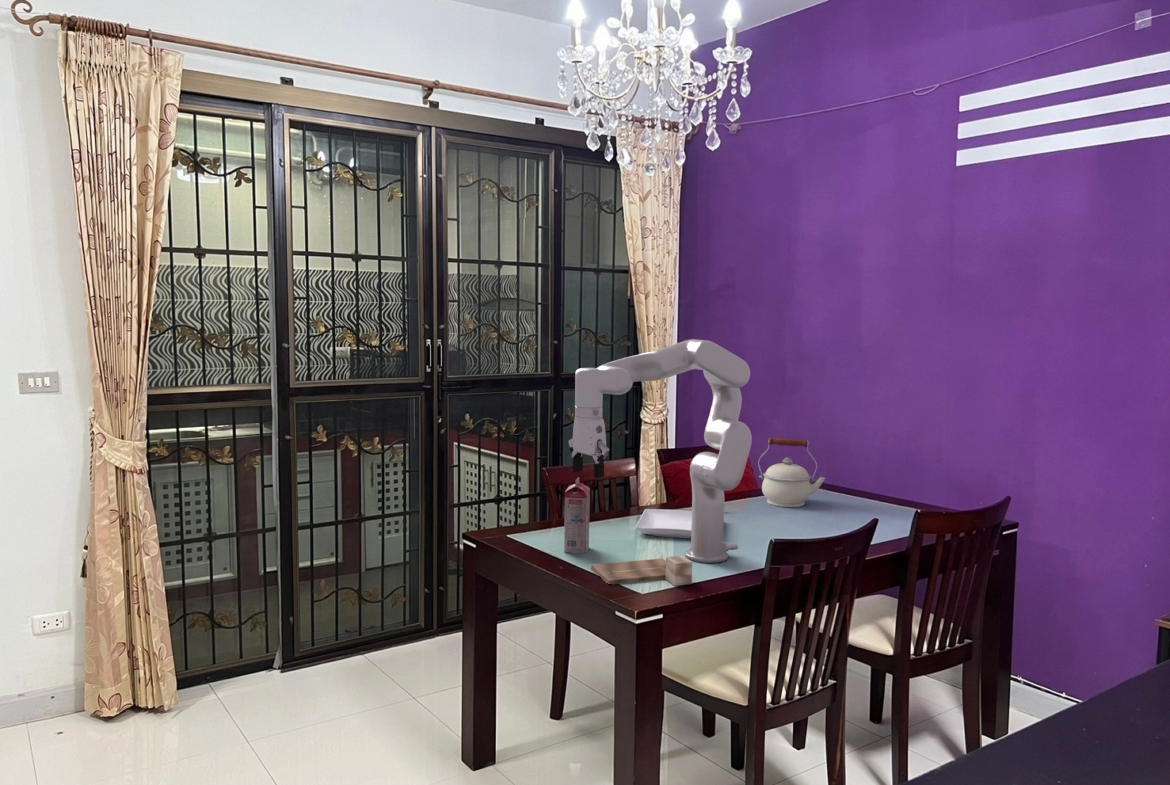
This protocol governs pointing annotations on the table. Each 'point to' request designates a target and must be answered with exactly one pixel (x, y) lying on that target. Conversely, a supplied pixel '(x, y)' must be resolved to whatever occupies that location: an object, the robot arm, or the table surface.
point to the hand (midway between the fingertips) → (588, 474)
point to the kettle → (788, 479)
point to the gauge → (678, 570)
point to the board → (631, 571)
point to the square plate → (665, 523)
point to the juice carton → (576, 518)
